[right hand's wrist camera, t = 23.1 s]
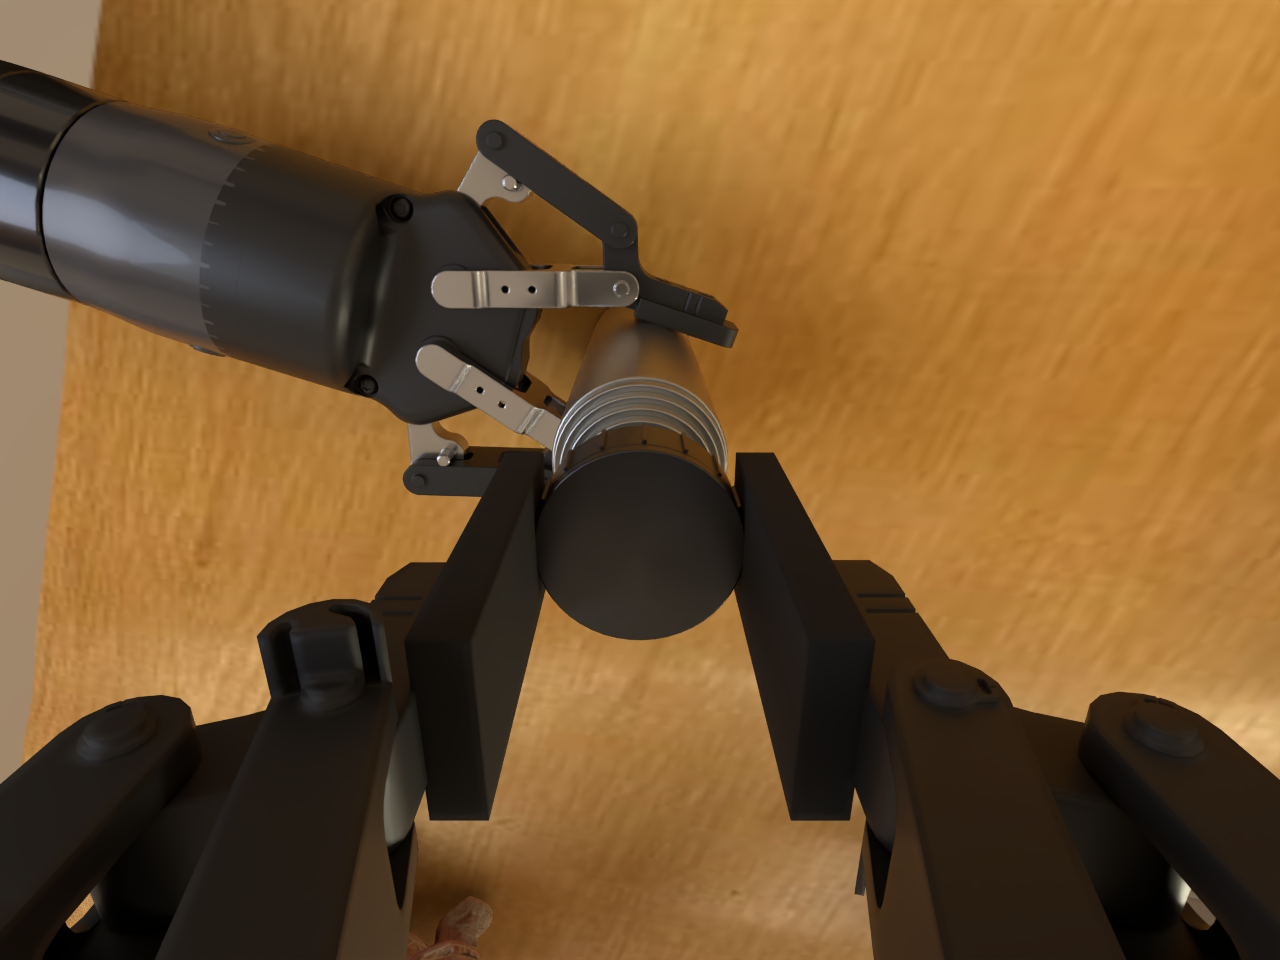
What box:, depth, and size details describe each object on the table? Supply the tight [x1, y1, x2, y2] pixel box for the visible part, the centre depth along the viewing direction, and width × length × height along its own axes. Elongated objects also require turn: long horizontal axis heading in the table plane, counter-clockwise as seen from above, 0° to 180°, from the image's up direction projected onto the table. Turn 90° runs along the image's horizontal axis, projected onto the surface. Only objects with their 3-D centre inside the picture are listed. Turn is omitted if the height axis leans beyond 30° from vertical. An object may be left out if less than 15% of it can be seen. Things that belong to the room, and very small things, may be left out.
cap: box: [535, 423, 745, 640], centre depth 14 cm, size 4×4×2 cm
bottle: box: [552, 307, 728, 474], centre depth 23 cm, size 4×4×20 cm
